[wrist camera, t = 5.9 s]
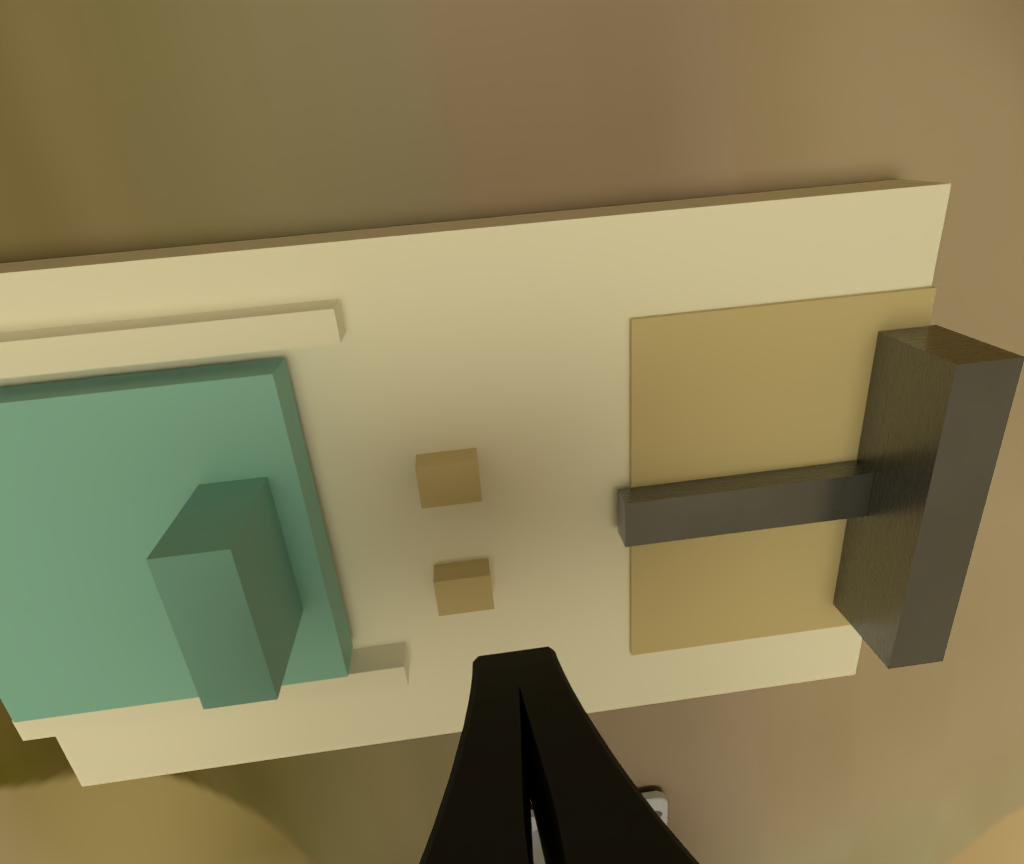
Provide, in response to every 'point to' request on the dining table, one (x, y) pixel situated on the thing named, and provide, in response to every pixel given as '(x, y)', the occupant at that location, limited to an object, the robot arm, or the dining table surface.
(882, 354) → the t key
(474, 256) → the board
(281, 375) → the cover
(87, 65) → the dining table surface
